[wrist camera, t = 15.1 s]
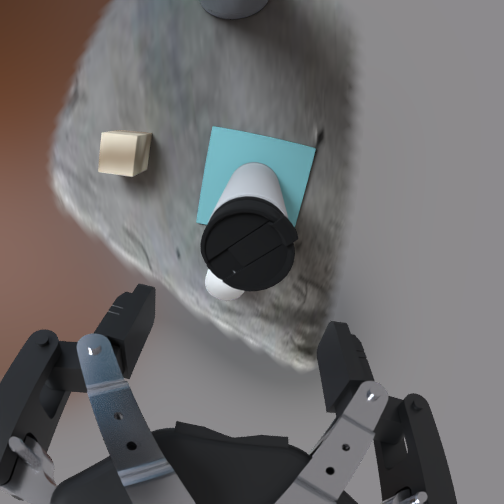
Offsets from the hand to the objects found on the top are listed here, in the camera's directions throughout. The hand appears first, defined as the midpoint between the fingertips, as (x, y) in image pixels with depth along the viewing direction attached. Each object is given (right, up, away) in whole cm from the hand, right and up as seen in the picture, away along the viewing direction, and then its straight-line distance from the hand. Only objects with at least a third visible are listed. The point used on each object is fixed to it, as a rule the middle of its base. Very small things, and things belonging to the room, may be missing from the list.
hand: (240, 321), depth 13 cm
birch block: (-15, +17, +22) cm, 32 cm away
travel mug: (+1, +12, +24) cm, 26 cm away
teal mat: (+1, +12, +24) cm, 27 cm away
